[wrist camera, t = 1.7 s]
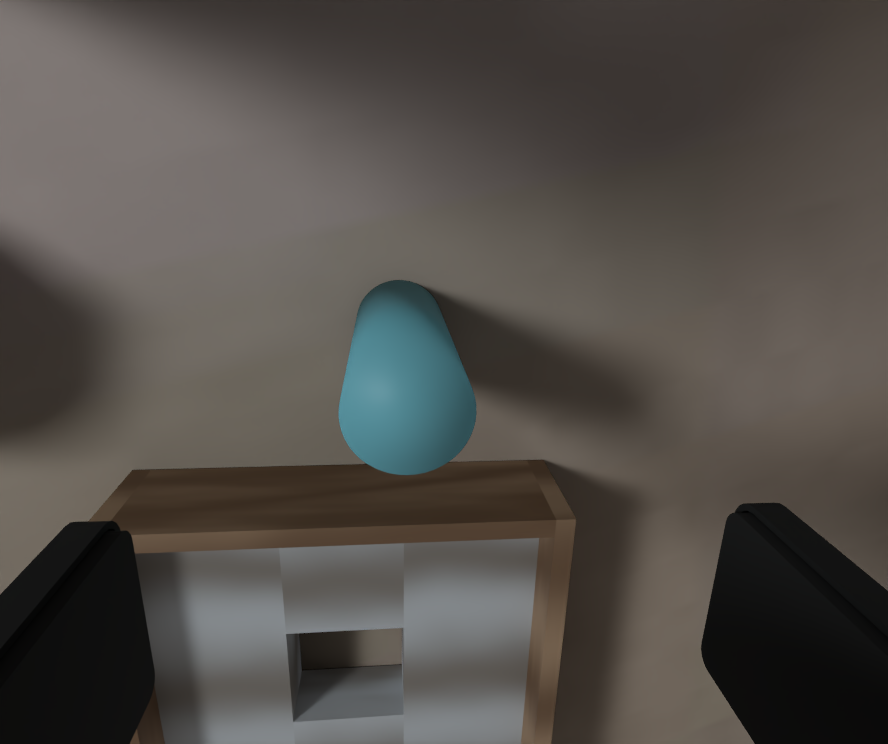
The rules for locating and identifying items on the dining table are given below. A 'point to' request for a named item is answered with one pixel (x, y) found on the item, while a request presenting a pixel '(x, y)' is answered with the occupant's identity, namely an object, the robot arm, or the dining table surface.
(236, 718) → the bore box
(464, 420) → the peg
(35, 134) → the dining table surface
